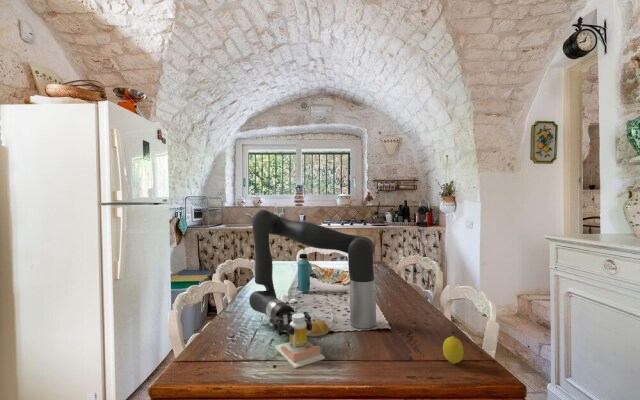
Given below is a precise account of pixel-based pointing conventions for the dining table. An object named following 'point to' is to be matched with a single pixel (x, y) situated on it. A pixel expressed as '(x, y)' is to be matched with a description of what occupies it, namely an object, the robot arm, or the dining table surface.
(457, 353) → the lemon
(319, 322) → the bread roll
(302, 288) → the beverage bottle
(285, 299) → the teacup and saucer
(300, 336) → the supplement bottle
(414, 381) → the dining table surface
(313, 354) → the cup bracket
